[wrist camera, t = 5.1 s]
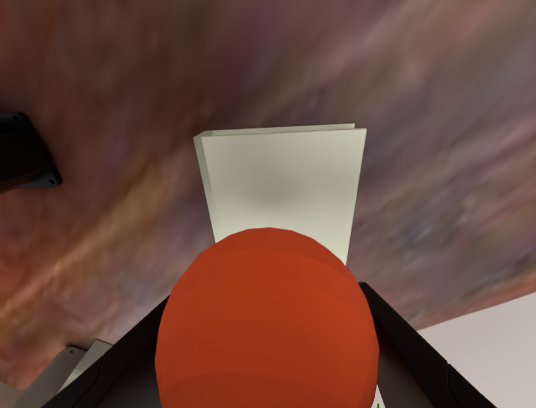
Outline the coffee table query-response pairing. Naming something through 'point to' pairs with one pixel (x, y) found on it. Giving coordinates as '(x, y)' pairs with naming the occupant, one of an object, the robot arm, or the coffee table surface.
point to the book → (283, 180)
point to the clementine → (267, 328)
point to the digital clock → (60, 374)
